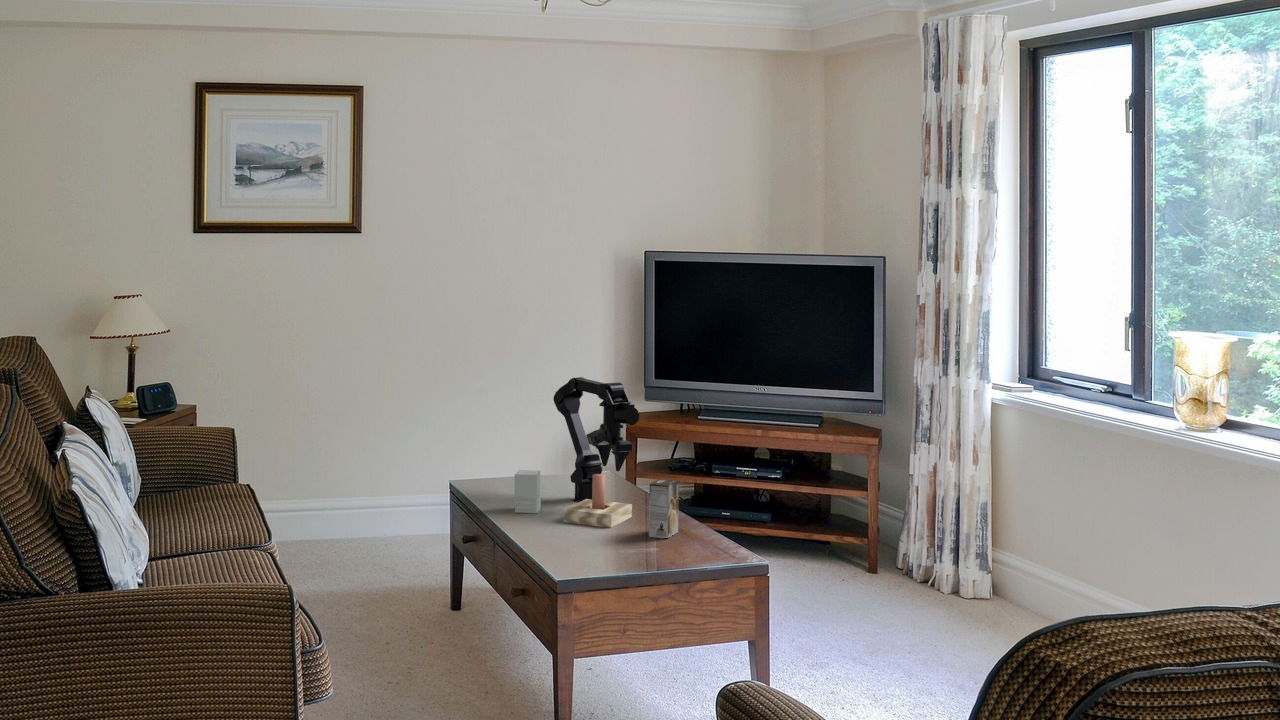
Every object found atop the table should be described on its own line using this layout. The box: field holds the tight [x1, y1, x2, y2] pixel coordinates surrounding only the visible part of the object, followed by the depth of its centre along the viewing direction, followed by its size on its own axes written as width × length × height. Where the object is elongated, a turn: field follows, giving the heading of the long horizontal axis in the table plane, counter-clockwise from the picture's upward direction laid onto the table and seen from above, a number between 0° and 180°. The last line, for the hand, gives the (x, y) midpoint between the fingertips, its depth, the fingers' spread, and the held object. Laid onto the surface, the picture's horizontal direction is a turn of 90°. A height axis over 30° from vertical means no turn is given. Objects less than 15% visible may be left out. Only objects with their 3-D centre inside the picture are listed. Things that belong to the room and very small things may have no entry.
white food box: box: [648, 478, 680, 539], centre depth 324 cm, size 9×6×16 cm
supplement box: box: [514, 469, 542, 514], centre depth 350 cm, size 7×7×13 cm
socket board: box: [563, 499, 633, 529], centre depth 341 cm, size 16×16×4 cm
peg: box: [592, 473, 606, 510], centre depth 341 cm, size 4×4×14 cm
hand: (611, 468), depth 356 cm, fingers open, 9 cm apart
